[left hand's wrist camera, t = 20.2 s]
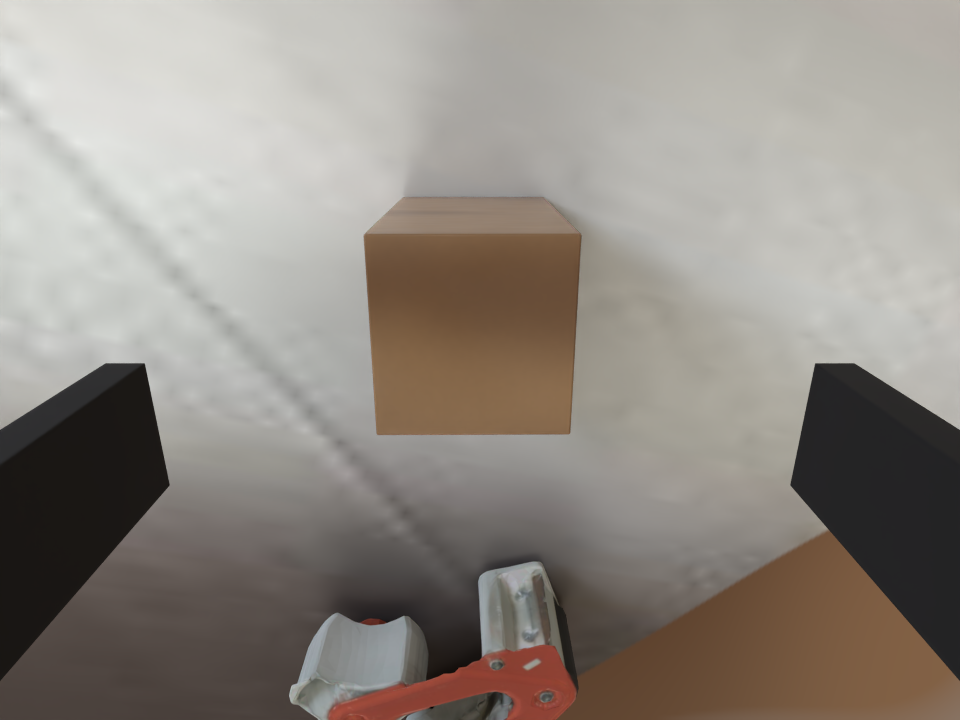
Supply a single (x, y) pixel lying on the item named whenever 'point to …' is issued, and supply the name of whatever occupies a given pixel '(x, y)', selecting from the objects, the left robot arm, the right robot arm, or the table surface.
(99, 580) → the table surface
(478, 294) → the block
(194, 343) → the table surface
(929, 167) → the table surface
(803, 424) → the left robot arm
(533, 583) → the tape dispenser
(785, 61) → the table surface
